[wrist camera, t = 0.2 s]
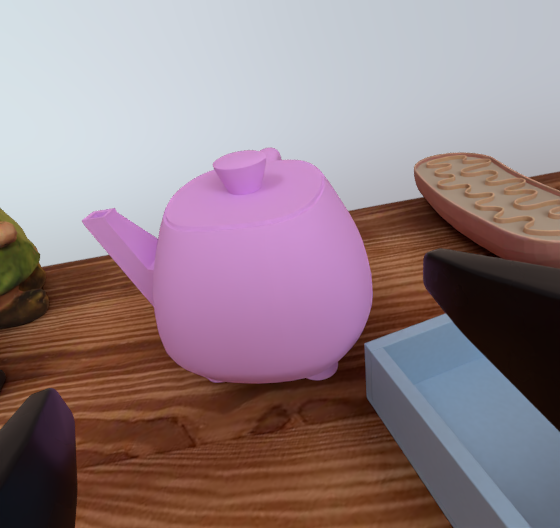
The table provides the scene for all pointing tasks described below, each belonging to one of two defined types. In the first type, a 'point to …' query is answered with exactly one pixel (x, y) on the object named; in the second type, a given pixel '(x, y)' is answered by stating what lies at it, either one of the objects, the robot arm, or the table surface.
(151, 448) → the table surface
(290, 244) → the teapot
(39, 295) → the figurine
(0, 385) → the black zipper case
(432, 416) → the bin
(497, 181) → the mitochondrion model
